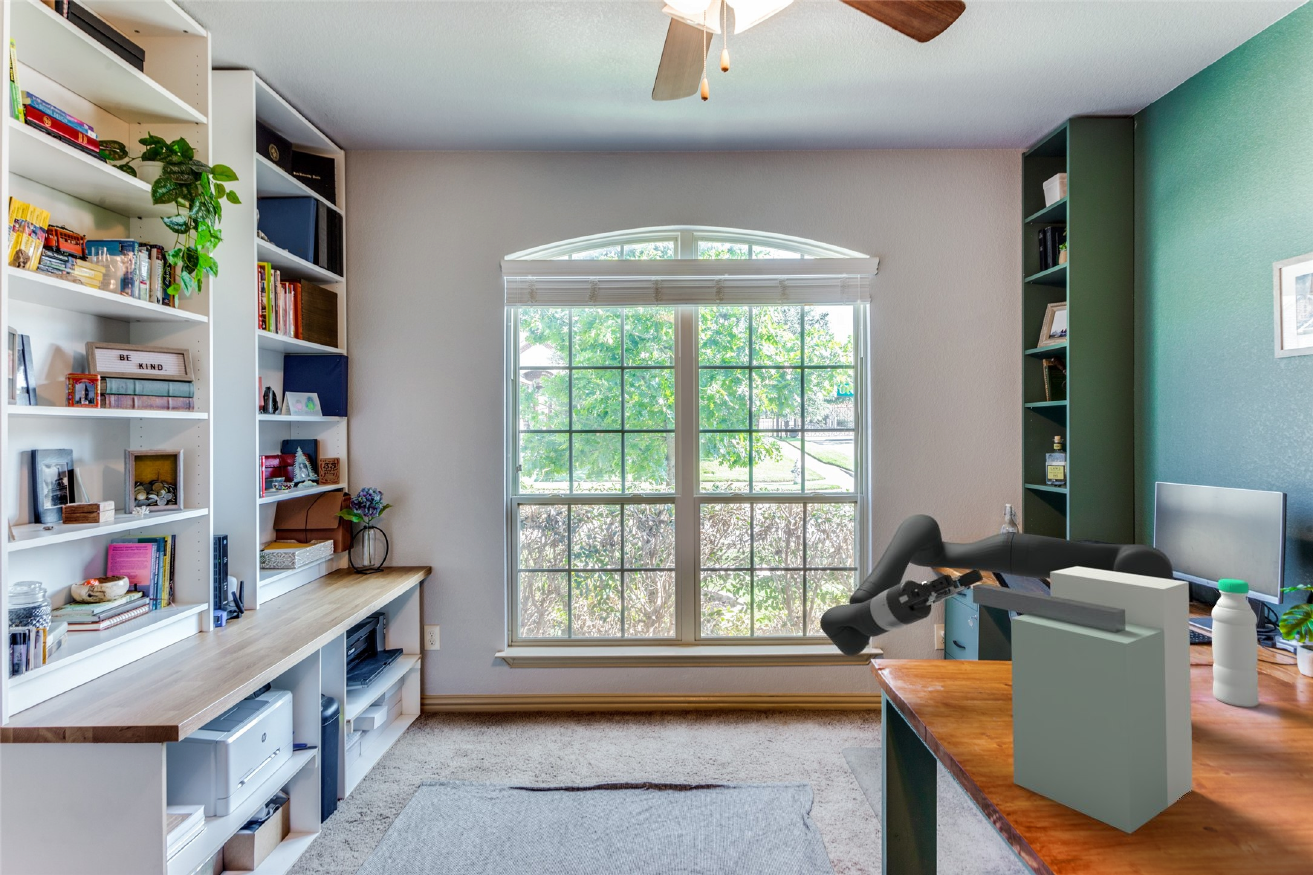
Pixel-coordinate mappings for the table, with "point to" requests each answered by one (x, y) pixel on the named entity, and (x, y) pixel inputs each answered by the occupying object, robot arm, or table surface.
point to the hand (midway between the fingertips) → (966, 576)
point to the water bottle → (1234, 646)
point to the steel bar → (1051, 607)
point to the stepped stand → (1106, 699)
